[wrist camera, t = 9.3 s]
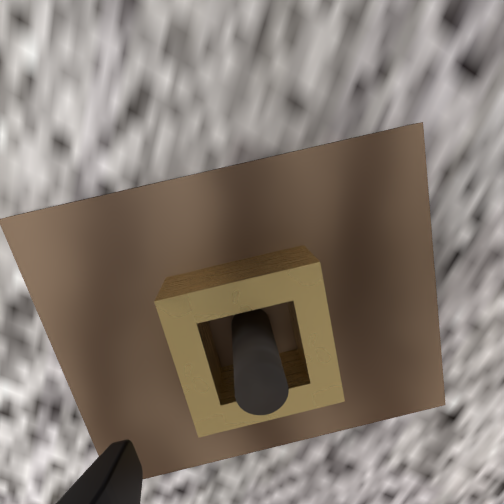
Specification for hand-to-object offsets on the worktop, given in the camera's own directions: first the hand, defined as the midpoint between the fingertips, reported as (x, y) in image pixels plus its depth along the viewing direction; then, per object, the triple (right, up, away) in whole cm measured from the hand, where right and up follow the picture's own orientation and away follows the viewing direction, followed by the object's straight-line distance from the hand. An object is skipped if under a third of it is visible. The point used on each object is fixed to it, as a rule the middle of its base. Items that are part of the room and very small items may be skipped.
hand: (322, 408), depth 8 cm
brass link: (-2, 0, +10) cm, 10 cm away
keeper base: (-2, 0, +11) cm, 11 cm away
